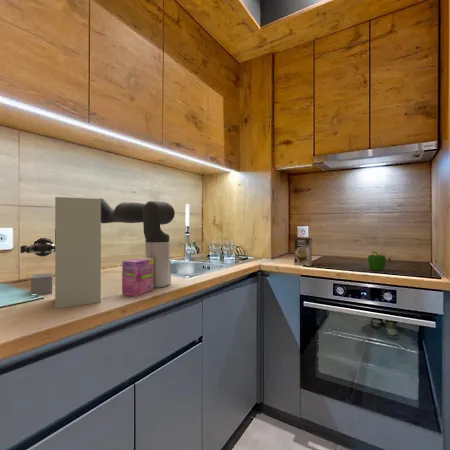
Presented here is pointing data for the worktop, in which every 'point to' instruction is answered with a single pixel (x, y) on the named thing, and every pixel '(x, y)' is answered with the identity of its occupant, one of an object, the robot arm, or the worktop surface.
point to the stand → (77, 251)
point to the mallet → (42, 284)
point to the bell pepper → (376, 261)
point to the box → (137, 276)
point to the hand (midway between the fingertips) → (41, 249)
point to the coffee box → (303, 251)
